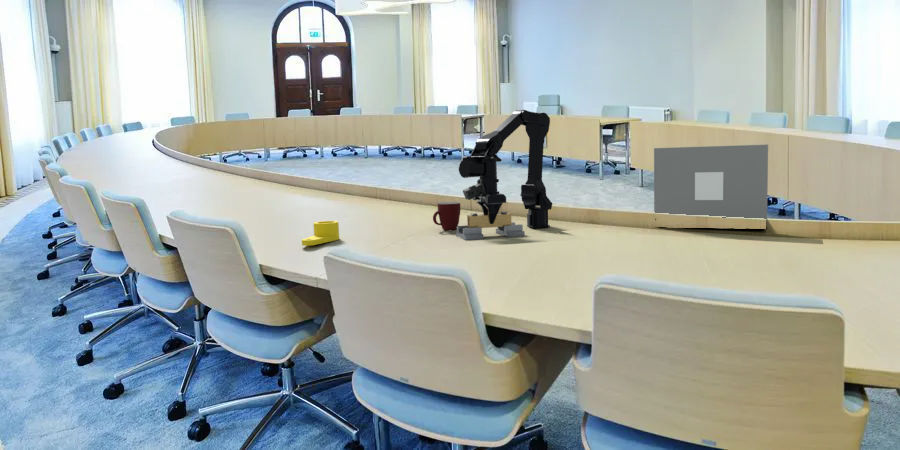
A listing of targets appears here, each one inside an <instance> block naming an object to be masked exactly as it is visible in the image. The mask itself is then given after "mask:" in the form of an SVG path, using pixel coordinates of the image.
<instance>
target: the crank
mask: <svg viewBox="0 0 900 450" xmlns="http://www.w3.org/2000/svg"><path fill="white" fill-rule="evenodd" d="M339 227H340V225H339V221H338V220H324V221H323V220H321V221H314V222H313V232H314V233H313V234H314V235H310V236H309V237H306V238H302V239H301V246H306V247H307V246H315V245H321V244H325V243H331V242H334V241H338V240H340V229H339Z"/></svg>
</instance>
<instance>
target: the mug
mask: <svg viewBox="0 0 900 450" xmlns="http://www.w3.org/2000/svg"><path fill="white" fill-rule="evenodd" d="M460 215H461V202H459V201H458V202H457V201H456V202H455V201H449V202H439V203H437V211H435V212H434V214H433V216H432V221H433V223H434V224H435V225H436V226H441V228H442V230H443V231H447V230H448V231H449V230H451V231H455V230H456V231H457V226H459V224H460V218H461V217H460ZM437 216H438V218H439V222H438V221H437Z"/></svg>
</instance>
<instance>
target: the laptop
mask: <svg viewBox="0 0 900 450" xmlns="http://www.w3.org/2000/svg"><path fill="white" fill-rule="evenodd" d="M768 175H769V144H746V145H745V144H744V145H742V144H741V145H712V146H711V145H710V146H709V145H706V146H679V147H678V146H677V147H675V146H673V147H654V148H653V179H654V180H653V181H654V183H653V212H655V213H669V214H686V215H709V216H726V217H744V218H764V219H767V220H768V187H769V186H768V185H769V183H768V182H769V179H768V177H769V176H768ZM726 217H722V218H726Z"/></svg>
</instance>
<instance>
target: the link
mask: <svg viewBox="0 0 900 450" xmlns="http://www.w3.org/2000/svg"><path fill="white" fill-rule="evenodd" d="M466 217H467V221H466V222H467V225H468V228H475V227H482V229H486V228H487V229H488V228H497V227H504V226H505V225H512V222H513V221H512V213H509V212H507V211H501V212H500V213H498V214H497V216H496V219H495V221H494V224H490V221H489V216H488V214H483V213H482V214H478V213H476V212H475V213H471V214H469V215H467V216H466Z"/></svg>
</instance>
